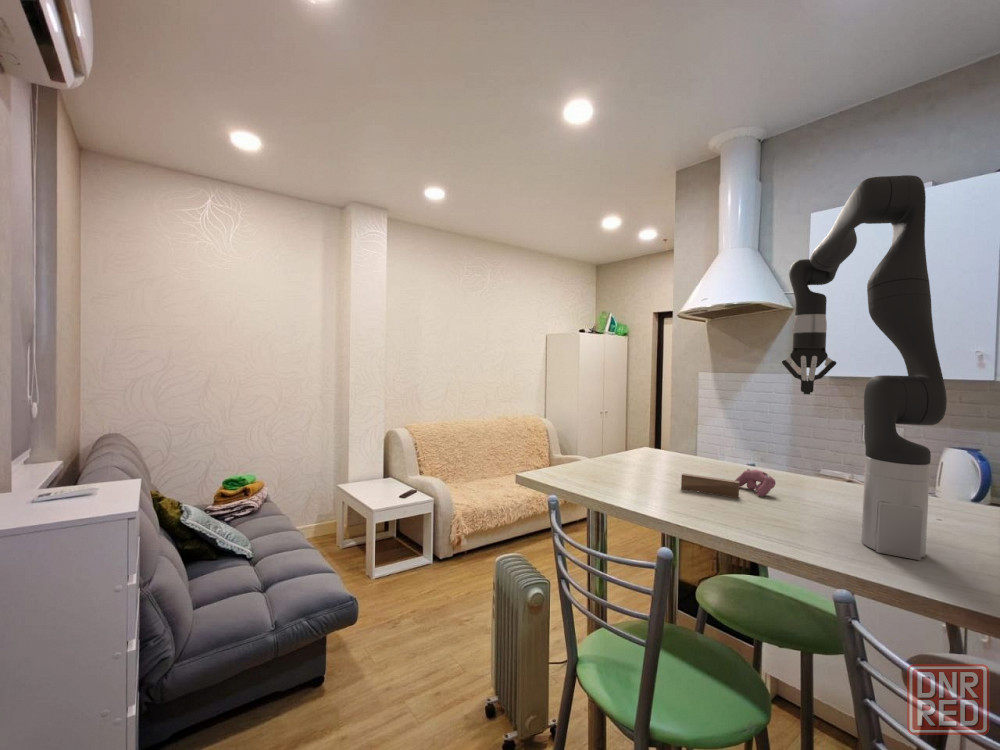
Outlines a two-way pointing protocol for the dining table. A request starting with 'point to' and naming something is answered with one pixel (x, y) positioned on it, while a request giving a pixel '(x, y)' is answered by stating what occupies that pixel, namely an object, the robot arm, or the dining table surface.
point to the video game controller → (756, 475)
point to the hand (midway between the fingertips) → (806, 394)
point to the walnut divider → (710, 485)
